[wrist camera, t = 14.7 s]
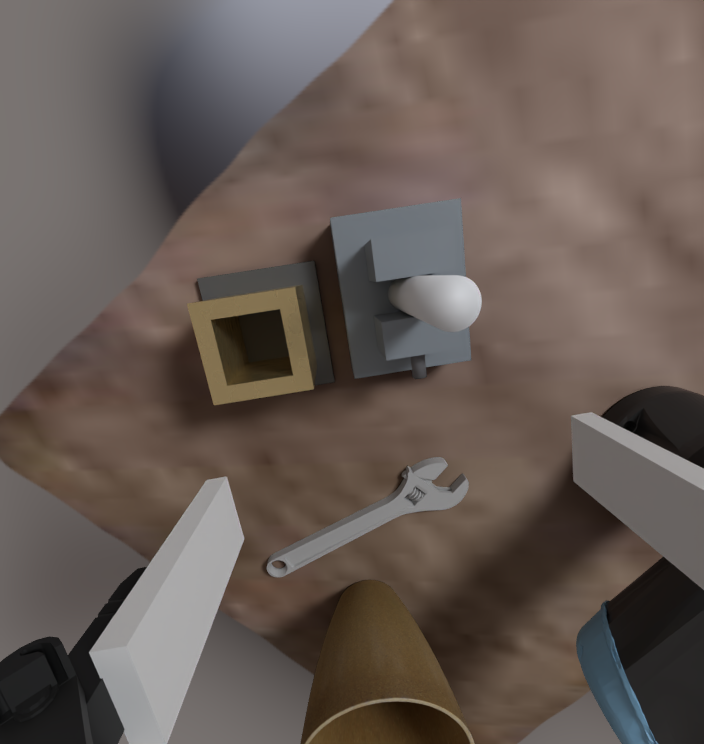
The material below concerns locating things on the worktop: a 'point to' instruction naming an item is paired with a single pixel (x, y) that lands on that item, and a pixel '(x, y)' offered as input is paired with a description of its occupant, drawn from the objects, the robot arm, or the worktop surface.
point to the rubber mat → (275, 312)
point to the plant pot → (379, 678)
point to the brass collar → (228, 353)
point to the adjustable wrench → (376, 514)
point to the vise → (405, 288)
